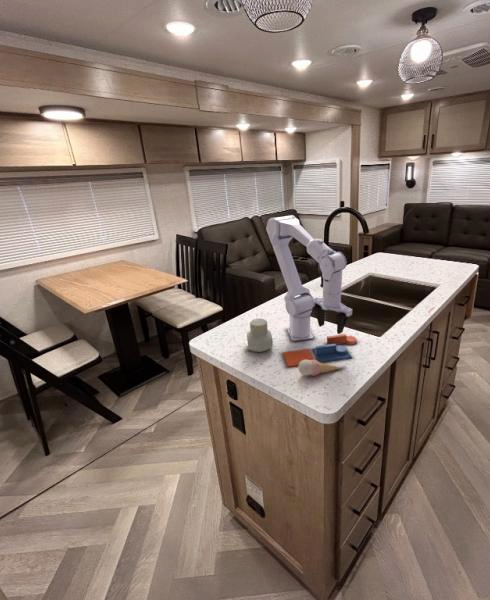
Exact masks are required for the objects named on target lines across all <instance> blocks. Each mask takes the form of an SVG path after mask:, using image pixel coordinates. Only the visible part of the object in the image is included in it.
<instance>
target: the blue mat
mask: <svg viewBox="0 0 490 600" xmlns="http://www.w3.org/2000/svg"><path fill="white" fill-rule="evenodd" d="M336 345H337V346H339V345H340V344H336ZM341 345H342V346H344V344H341ZM315 349H316V347H314V348H312V352H313V353H314V355H315V357H316V360H317V361H318V362H320V363H326V362H327V363H328V362H332V361H340V360H347V359H352V355H351V354H350V353H349V351H348V350H347V353H346V354H342V355H341V354H337V353H332V354H325V355H318V356H316V354H315Z"/></svg>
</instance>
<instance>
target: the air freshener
mask: <svg viewBox="0 0 490 600" xmlns="http://www.w3.org/2000/svg"><path fill="white" fill-rule="evenodd" d="M246 341H247V349H248V350H249V351H252V352H257V353H262V352H266V351H268V350H270V349H271V348H272V347H273V346H274V342H273V335H272V332H271V330H269V329H268V321H267V320H266V319H264V318H254V319H252V320H251V321H250V322H249V331H248V332H247V333H246Z"/></svg>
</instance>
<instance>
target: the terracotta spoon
mask: <svg viewBox="0 0 490 600" xmlns="http://www.w3.org/2000/svg"><path fill="white" fill-rule="evenodd" d="M356 343H357V337H356V336H353V335H347V334H346V333H344V334H336V335H329V336H326V345H329V344H336V345H344V344H346V345H355V344H356Z"/></svg>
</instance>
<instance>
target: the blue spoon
mask: <svg viewBox="0 0 490 600" xmlns="http://www.w3.org/2000/svg"><path fill="white" fill-rule="evenodd" d="M337 345H339V346H337ZM342 345H343V344H329V345H327V344H323V345H321V344H320V345H315V348H316V349H315V353H314V355H315V354H316V355H315V357H316V356H318V355H325V354H332V353H337V354H341V355H342V354H346V353H347V351H348V348H347V346H345V345H343V346H342Z"/></svg>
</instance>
